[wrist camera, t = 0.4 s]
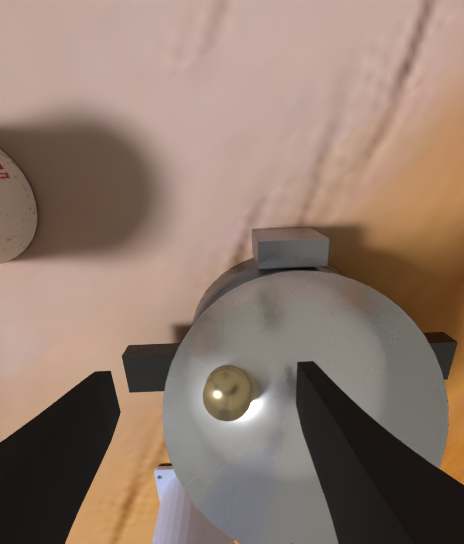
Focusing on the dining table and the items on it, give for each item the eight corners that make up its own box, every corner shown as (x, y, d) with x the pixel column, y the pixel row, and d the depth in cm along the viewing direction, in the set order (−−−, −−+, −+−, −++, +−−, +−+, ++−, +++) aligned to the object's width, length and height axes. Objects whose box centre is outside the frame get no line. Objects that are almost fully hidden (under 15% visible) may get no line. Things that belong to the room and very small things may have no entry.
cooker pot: (399, 398, 23) (432, 440, 20) (155, 408, 23) (141, 452, 20) (437, 221, 18) (491, 231, 14) (124, 235, 18) (97, 248, 15)
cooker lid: (438, 531, 15) (475, 576, 12) (173, 541, 15) (162, 587, 13) (423, 265, 15) (456, 263, 13) (163, 276, 15) (151, 276, 13)
